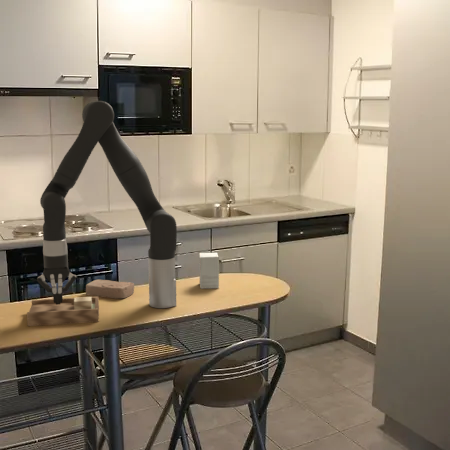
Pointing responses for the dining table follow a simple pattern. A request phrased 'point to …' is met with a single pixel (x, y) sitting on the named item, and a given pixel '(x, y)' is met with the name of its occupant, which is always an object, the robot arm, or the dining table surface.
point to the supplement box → (209, 270)
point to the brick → (110, 289)
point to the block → (82, 303)
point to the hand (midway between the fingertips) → (58, 303)
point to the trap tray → (61, 312)
